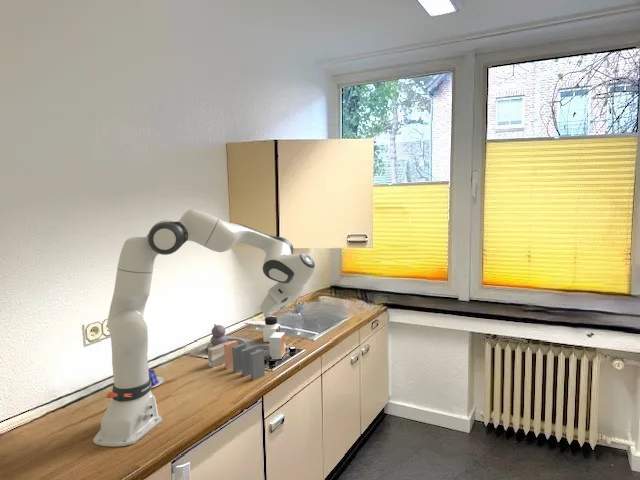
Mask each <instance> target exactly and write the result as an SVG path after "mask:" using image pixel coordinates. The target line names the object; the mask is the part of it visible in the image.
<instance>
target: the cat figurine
mask: <svg viewBox="0 0 640 480" xmlns="http://www.w3.org/2000/svg"><path fill="white" fill-rule="evenodd" d="M225 334H226V328H225V327H224V326H223V325H220V324H216V323H214V326H212V329H211V335H212V336H211V337H210V343H211V345H212V346H217V345H220V344H222V343H225V342H228V338H227V336H226V335H225Z"/></svg>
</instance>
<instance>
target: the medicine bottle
mask: <svg viewBox="0 0 640 480" xmlns="http://www.w3.org/2000/svg"><path fill="white" fill-rule="evenodd" d="M264 322H265V325H264V327H262V335H263V336H262V337H263V343H269V337H271V335H272V334H273V333H274V332H281V325H280V323H278V317H276V316H274V315H269V317H267V318H265V317H264Z"/></svg>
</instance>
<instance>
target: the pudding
mask: <svg viewBox="0 0 640 480" xmlns="http://www.w3.org/2000/svg"><path fill="white" fill-rule="evenodd" d="M148 370H149V377H150V379H151V389H153V388H155V387H157V386H160V385H161V384H163V383H164V377H161V376H158V375H157V374H156V371H155V370H154V369H149V368H148Z"/></svg>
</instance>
